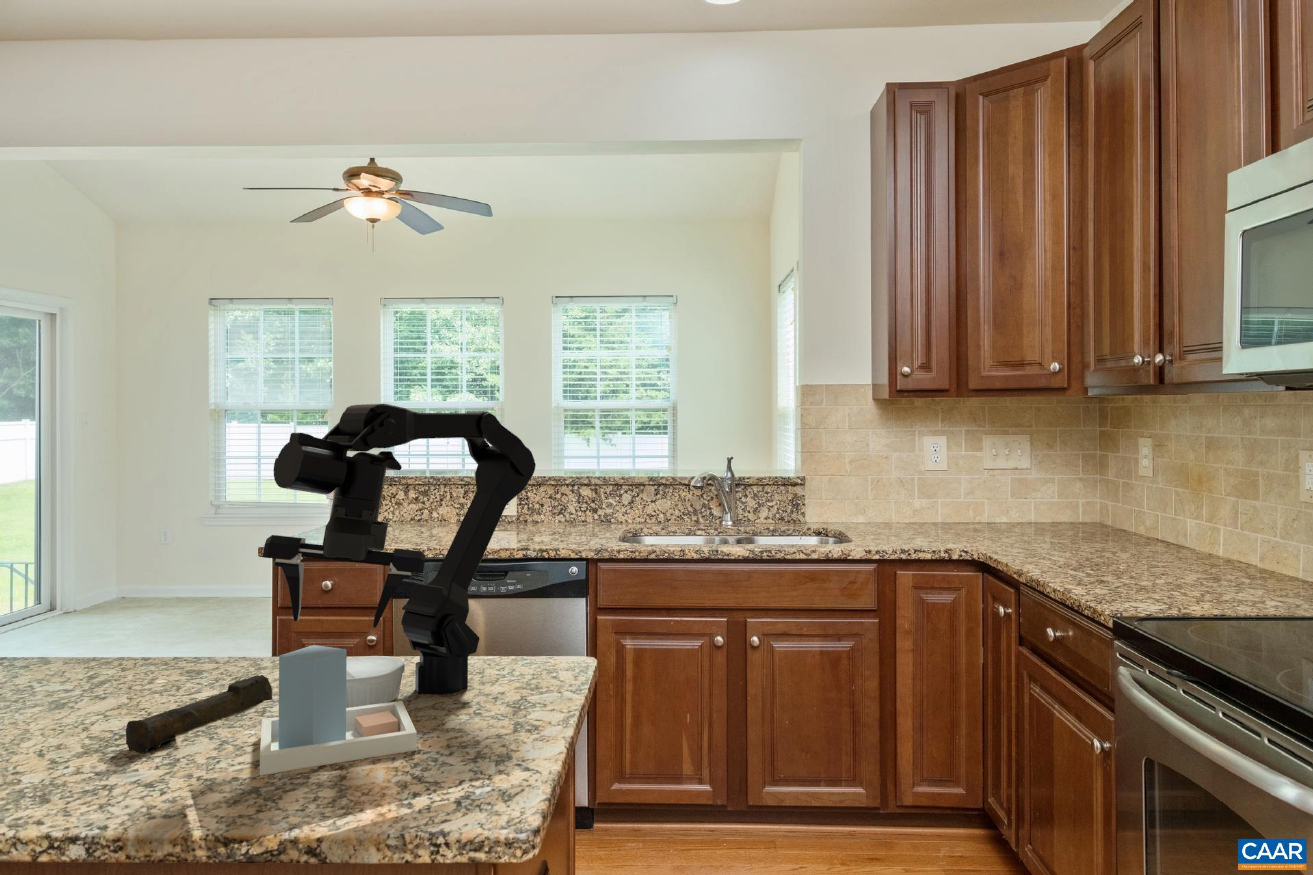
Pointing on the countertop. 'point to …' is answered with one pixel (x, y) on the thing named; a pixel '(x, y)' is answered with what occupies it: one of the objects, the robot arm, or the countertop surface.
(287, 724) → the blue block
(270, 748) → the tray
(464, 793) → the countertop surface
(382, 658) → the ramekin
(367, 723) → the terracotta tile
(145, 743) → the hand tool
